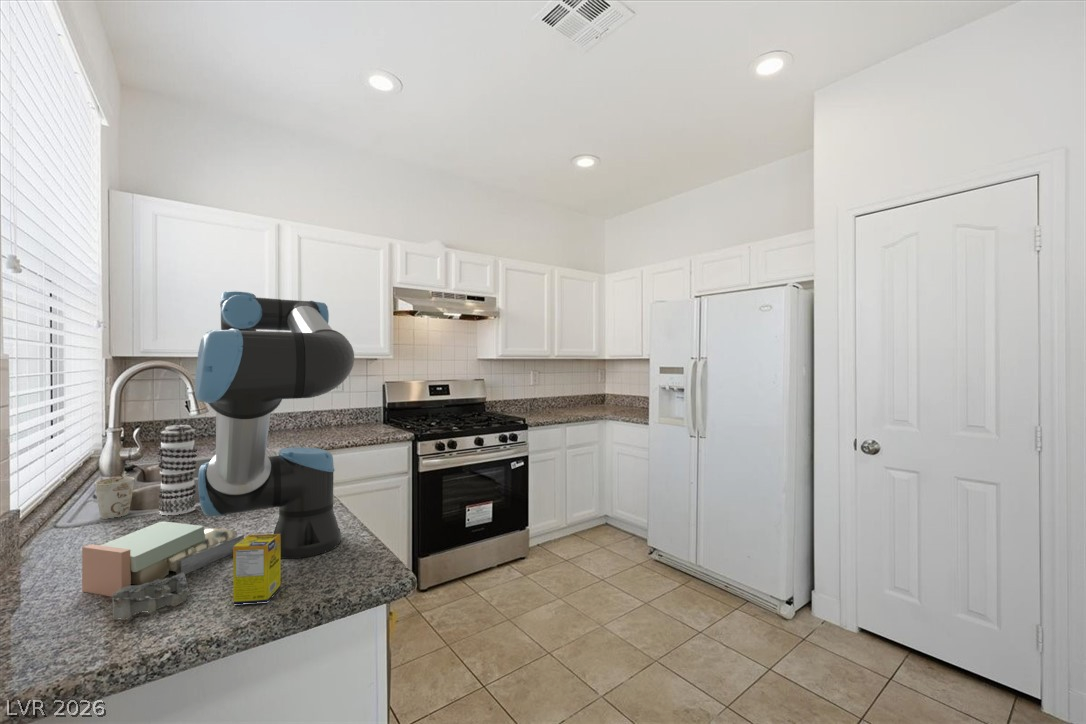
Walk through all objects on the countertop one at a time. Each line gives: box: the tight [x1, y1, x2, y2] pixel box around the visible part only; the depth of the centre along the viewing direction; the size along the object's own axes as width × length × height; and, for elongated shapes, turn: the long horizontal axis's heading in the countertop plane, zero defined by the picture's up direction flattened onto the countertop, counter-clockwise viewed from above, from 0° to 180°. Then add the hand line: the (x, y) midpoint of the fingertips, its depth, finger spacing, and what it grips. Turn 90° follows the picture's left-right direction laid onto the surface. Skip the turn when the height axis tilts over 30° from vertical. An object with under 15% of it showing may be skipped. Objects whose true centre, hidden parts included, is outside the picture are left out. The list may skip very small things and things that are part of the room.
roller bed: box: [166, 526, 245, 575], centre depth 105 cm, size 14×16×5 cm
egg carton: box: [110, 572, 189, 620], centre depth 86 cm, size 11×8×4 cm
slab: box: [100, 520, 205, 572], centre depth 97 cm, size 12×14×3 cm
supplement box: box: [232, 533, 282, 605], centre depth 88 cm, size 6×6×11 cm
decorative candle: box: [157, 424, 198, 517], centre depth 138 cm, size 9×9×25 cm
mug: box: [94, 476, 135, 520], centre depth 135 cm, size 8×13×10 cm, turn 58°
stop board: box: [81, 543, 130, 598], centre depth 90 cm, size 10×2×8 cm, turn 76°
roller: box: [130, 560, 168, 585], centre depth 95 cm, size 9×5×5 cm
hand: (238, 449), depth 117 cm, fingers closed
